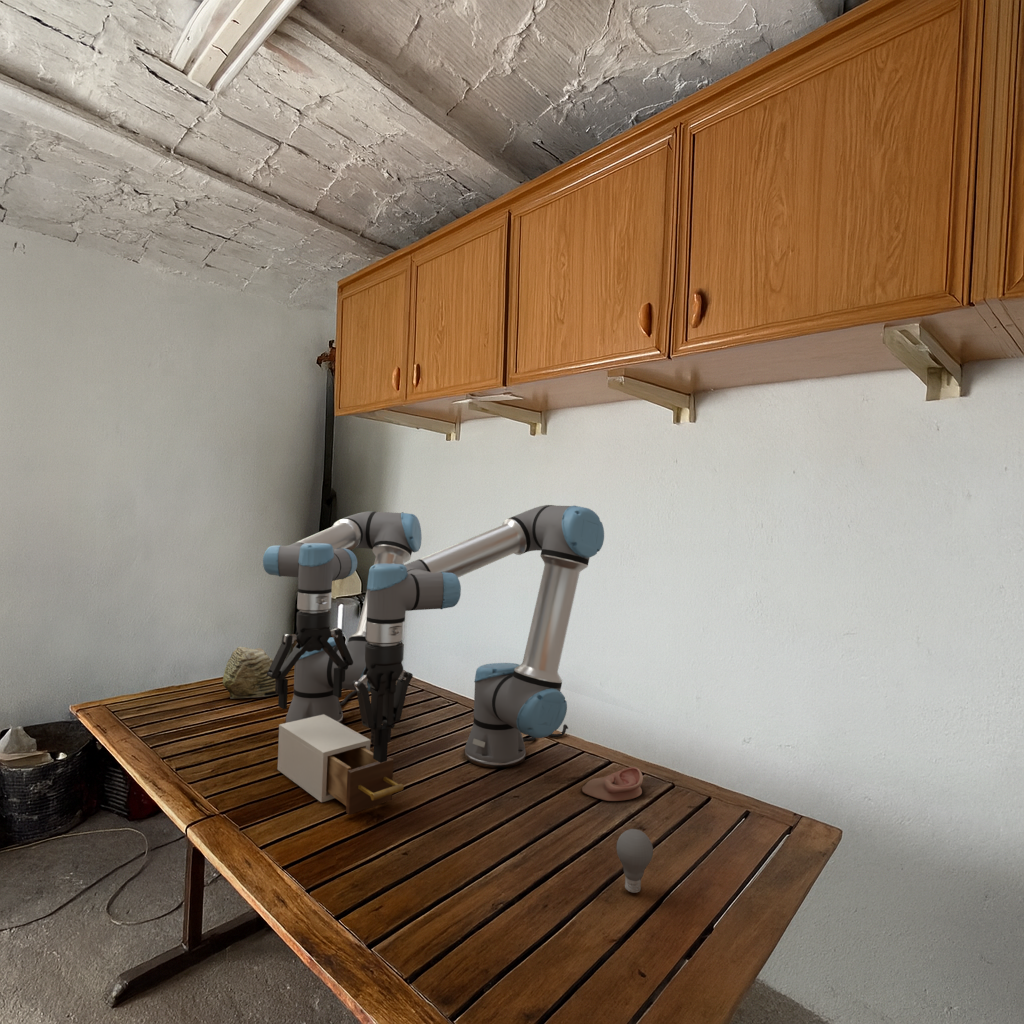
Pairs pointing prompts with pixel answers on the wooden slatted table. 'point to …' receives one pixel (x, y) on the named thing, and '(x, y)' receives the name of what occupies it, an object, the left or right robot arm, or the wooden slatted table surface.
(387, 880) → the wooden slatted table surface
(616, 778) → the anatomical model
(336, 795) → the drawer
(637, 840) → the light bulb
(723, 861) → the wooden slatted table surface
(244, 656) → the fossil
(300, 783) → the cabinet
